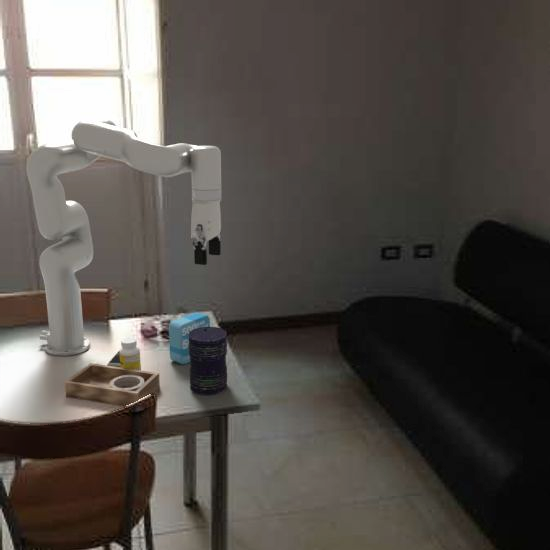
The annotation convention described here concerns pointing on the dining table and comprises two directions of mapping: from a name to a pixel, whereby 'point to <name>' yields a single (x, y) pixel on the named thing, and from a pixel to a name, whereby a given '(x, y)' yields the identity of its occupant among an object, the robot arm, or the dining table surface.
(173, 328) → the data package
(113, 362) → the cell phone
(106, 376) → the walnut box
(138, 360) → the supplement bottle
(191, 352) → the storage jar
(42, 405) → the dining table surface
